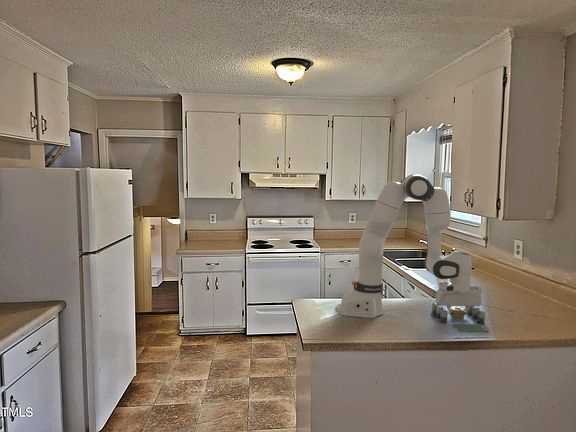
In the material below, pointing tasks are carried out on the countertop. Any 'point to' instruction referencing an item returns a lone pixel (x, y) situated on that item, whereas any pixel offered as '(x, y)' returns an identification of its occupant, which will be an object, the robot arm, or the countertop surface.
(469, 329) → the rubber mat
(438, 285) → the mounting bracket
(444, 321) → the spacer rows
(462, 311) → the brass nut
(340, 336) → the countertop surface
